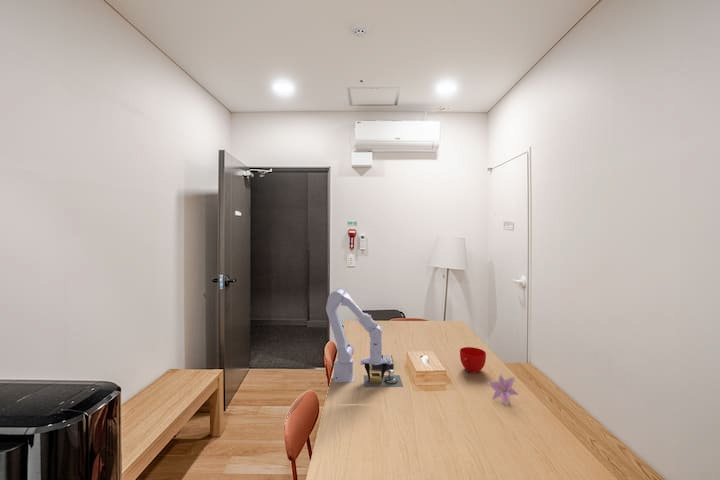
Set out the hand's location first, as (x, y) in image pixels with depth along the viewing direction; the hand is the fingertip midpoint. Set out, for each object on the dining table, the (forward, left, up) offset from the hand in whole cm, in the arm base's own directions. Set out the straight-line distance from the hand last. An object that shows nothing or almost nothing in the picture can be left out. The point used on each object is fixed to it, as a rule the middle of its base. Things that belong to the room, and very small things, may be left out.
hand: (375, 379), depth 154 cm
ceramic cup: (+51, +11, -2) cm, 52 cm away
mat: (+4, 0, -1) cm, 4 cm away
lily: (+54, -16, -2) cm, 57 cm away
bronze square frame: (0, 0, -1) cm, 1 cm away
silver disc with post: (+8, 0, -1) cm, 8 cm away
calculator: (+5, +20, -2) cm, 21 cm away
